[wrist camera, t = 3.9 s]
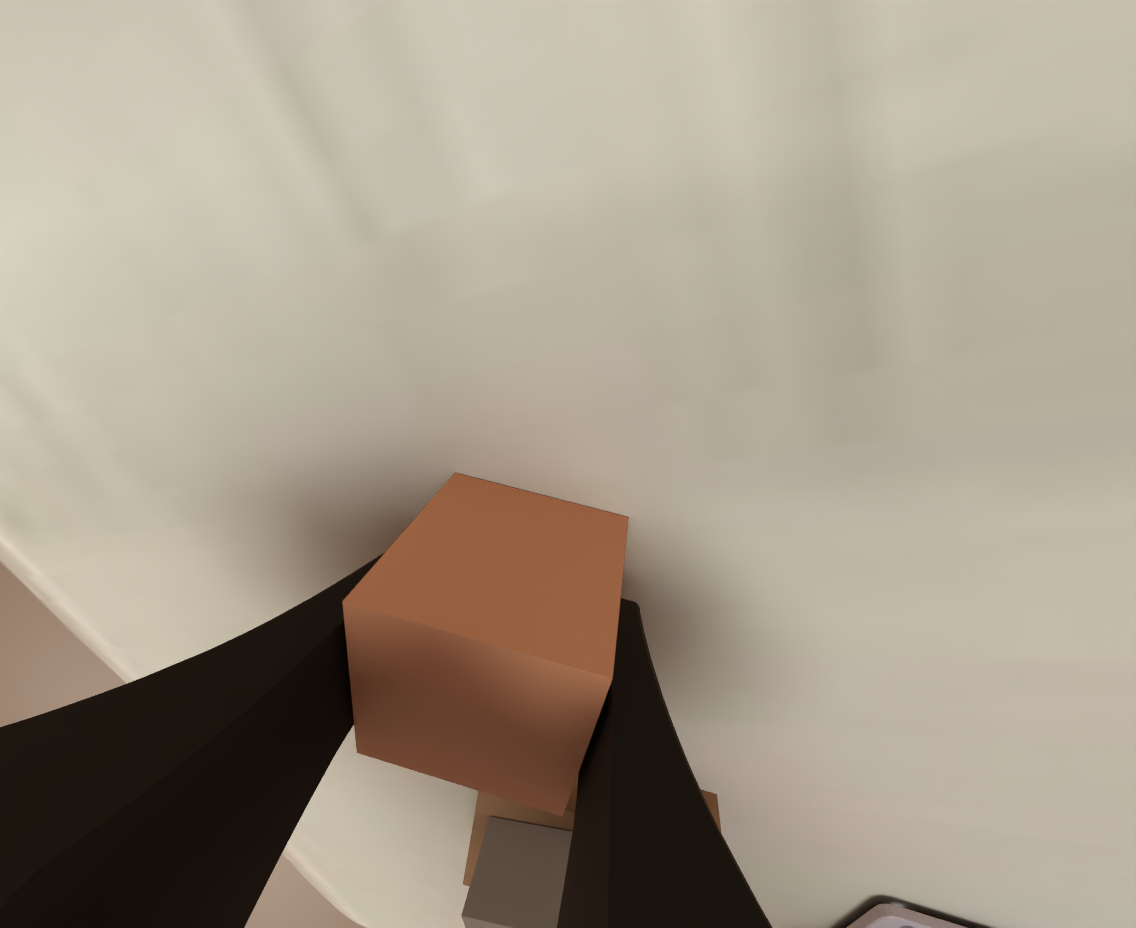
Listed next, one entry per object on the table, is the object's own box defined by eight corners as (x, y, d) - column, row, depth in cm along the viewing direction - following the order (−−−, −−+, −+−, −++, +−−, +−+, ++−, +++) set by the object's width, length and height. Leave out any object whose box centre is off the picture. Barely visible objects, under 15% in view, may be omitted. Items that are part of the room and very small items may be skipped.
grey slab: (669, 849, 14) (672, 964, 12) (660, 928, 16) (661, 1033, 14) (489, 816, 15) (461, 915, 13) (508, 895, 18) (488, 988, 15)
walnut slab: (714, 773, 16) (724, 858, 14) (653, 867, 20) (653, 945, 17) (503, 711, 16) (480, 784, 14) (483, 814, 20) (462, 883, 18)
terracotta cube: (628, 517, 11) (612, 678, 7) (591, 639, 13) (562, 816, 9) (455, 472, 11) (342, 601, 7) (447, 599, 13) (357, 752, 9)
